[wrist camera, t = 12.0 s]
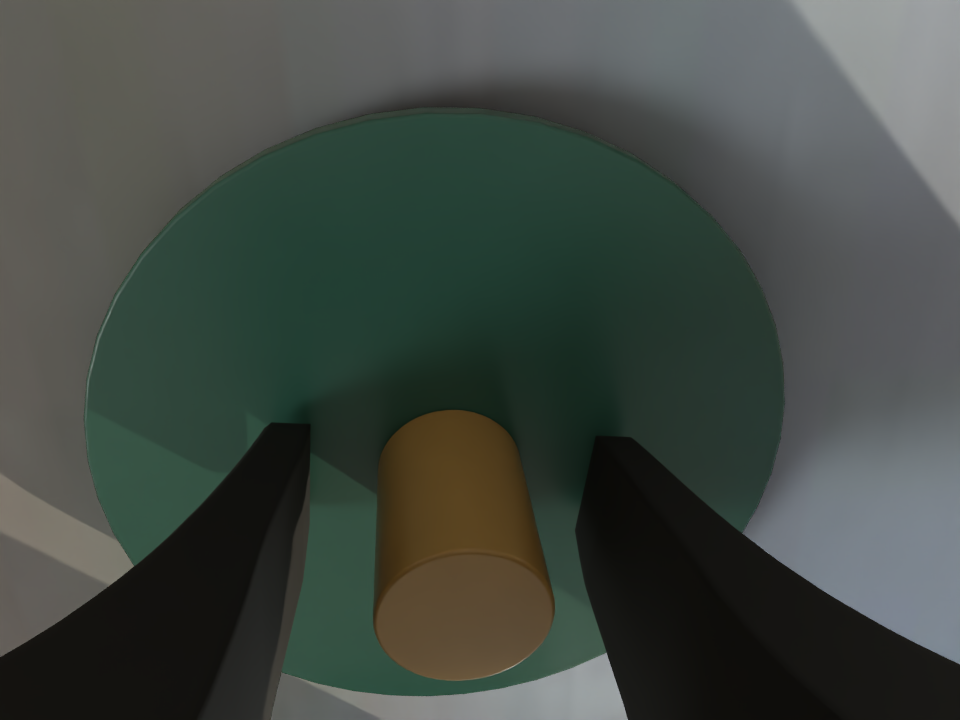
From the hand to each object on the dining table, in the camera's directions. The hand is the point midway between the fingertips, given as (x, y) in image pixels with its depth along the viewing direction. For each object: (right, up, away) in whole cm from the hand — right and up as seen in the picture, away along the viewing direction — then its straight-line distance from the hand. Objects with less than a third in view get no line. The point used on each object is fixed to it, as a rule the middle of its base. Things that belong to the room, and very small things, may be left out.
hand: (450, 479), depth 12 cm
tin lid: (0, 0, +1) cm, 1 cm away
